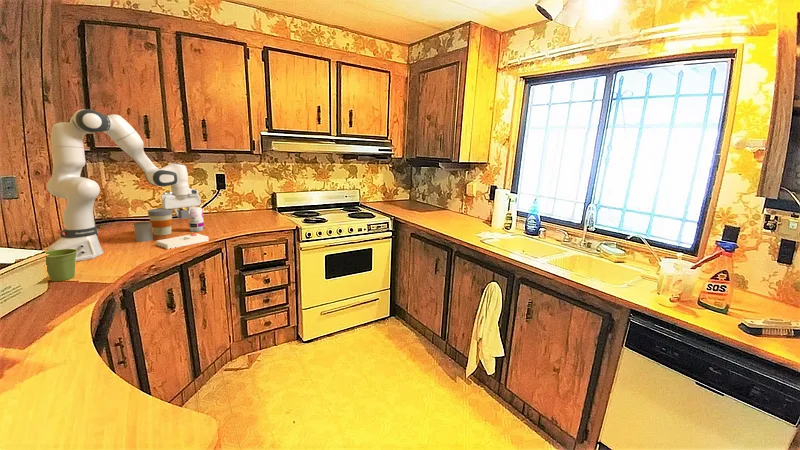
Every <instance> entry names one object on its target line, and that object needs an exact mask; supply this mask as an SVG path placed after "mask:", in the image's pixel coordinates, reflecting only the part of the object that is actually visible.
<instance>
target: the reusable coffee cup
mask: <svg viewBox="0 0 800 450" xmlns="http://www.w3.org/2000/svg"><path fill="white" fill-rule="evenodd" d="M147 216H148V217H149V220H148V222H151V223H152V230H153V236H166V235H171V234H172V226H173V209H163V208H162V207H161V208H159V207H158V208H152V209H149V210H148V211H147Z"/></svg>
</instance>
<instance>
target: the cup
mask: <svg viewBox="0 0 800 450" xmlns="http://www.w3.org/2000/svg"><path fill="white" fill-rule="evenodd" d="M133 227H134V228H133V229H134V234H135V241H136V242H138V243H140V242H141V243H143V242H150V240H151V241H153V240H155V238H154V232H153V228H152V223H151V222H150V221H137V222H134V223H133Z"/></svg>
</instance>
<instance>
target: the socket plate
mask: <svg viewBox="0 0 800 450" xmlns="http://www.w3.org/2000/svg"><path fill="white" fill-rule="evenodd" d="M209 240H210V239H209V236H207V235H205V234H200V233H196V232H193V233H190V234H186V235H180V236H175V237H170V238H165V239H159V240H155V243H156V246H158V247H160V246H161V248H163V247H164V248H163V249H166V248H167V250H170V248H171V249H175V247H176V248H181V247H186V246H190V245H195V244H200V243H204V242H209Z"/></svg>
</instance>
